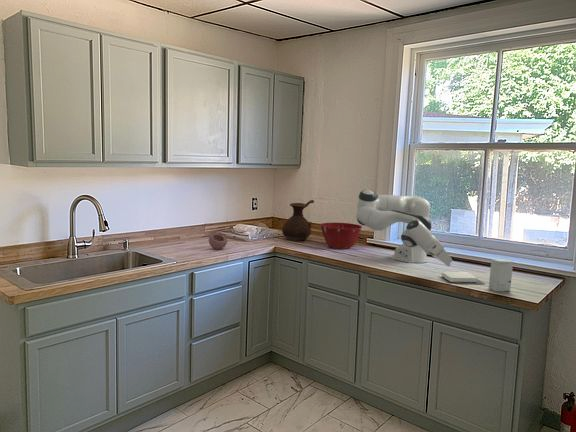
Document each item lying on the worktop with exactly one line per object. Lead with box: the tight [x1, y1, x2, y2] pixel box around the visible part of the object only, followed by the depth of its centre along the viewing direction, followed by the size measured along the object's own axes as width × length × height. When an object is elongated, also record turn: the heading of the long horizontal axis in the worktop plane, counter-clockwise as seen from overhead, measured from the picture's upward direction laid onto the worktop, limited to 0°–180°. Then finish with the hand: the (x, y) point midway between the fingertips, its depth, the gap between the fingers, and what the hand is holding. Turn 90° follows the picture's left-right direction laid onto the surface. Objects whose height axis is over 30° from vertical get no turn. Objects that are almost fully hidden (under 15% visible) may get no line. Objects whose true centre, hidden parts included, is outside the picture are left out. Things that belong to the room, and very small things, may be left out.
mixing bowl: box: [319, 222, 363, 250], centre depth 317 cm, size 28×28×16 cm
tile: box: [440, 271, 478, 283], centre depth 241 cm, size 2×12×14 cm
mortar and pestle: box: [208, 231, 228, 250], centre depth 299 cm, size 12×12×11 cm
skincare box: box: [488, 258, 514, 292], centre depth 224 cm, size 8×6×15 cm
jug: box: [281, 199, 315, 242], centre depth 340 cm, size 22×22×30 cm
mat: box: [453, 278, 486, 285], centre depth 241 cm, size 15×16×1 cm
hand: (448, 265), depth 239 cm, fingers closed
